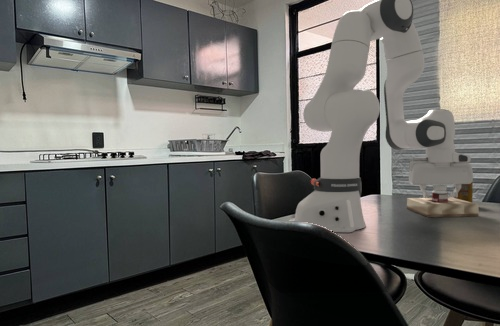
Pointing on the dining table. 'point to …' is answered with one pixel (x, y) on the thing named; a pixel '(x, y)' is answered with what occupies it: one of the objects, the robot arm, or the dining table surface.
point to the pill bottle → (439, 194)
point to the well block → (443, 207)
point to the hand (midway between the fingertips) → (440, 197)
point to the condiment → (465, 192)
